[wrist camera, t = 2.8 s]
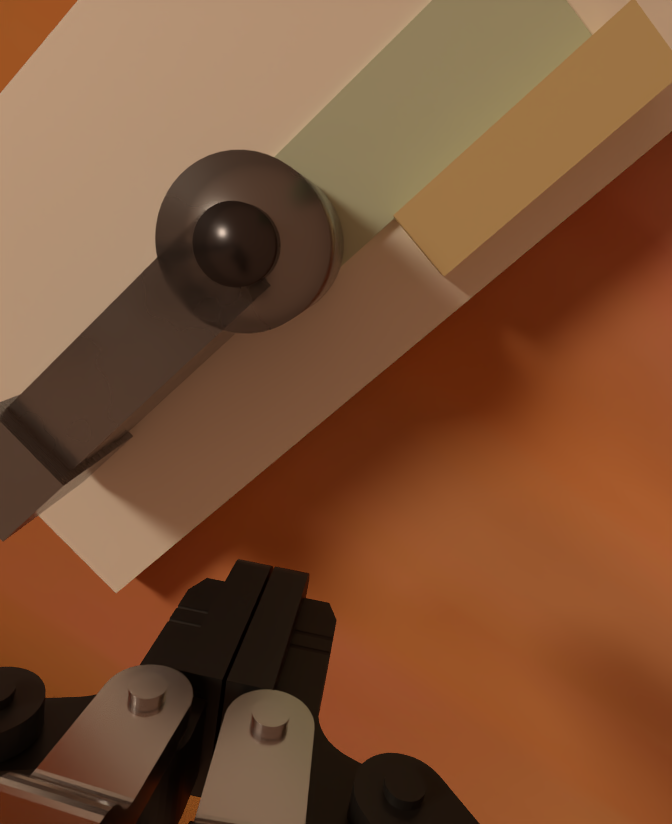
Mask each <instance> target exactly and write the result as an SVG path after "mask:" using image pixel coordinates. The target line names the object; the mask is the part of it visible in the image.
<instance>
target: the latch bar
mask: <svg viewBox="0 0 672 824" xmlns="http://www.w3.org/2000/svg"><path fill="white" fill-rule="evenodd" d="M155 245H156V254H157V258H156V259H155V260H154V261H153V262H152V263H151V264H150V265H149V266H148V267H147V268H146V269H145V270H144V271H143V272H142V273H141V274H140V275H139V276H138V277H137V278H136V279H135V280H134V281H133V282H132V283H131V284H130V285H129V286H128V287H127V288H126V289H125V290H124V291H123V292H122V293H121V294H120V295H119V296H118V297H117V298H116V299H115V300H114V301H113V302H112V303H111V304H110V305H109V306H108V307H107V308H106V309H105V310H104V311H103V312H102V313H101V314H100V315H99V316H98V317H97V318H96V319H95V320H94V321H93V322H92V323H91V324H90V325H89V326H88V327H87V328H86V329H85V330H84V331H83V332H82V333H81V334H80V335H79V336H78V337H77V338H76V339H75V340H74V341H73V342H72V343H71V344H70V345H69V346H68V347H67V348H66V349H65V350H64V351H63V352H62V353H61V354H60V355H59V356H58V357H57V358H56V359H55V360H54V361H53V362H52V363H51V364H50V365H49V366H48V367H47V368H46V369H45V370H44V371H43V372H42V373H41V374H40V375H39V376H38V377H37V378H36V379H35V380H34V381H33V382H32V383H31V384H30V385H29V386H28V387H27V388H26V389H25V390H24V391H23V392H22V393H21V394H20V395H17V396H14V397H12V398H9V399H7V400H4V401H2V402H0V539H1V540H2V541H5V540H6V539H7V538H9V537H10V536H11V535H13V534H14V533H15V532H17V531H18V530H19V529H21V528H22V527H23V526H25V525H26V524H27V523H29V522H30V521H31V520H33V519H34V518H35V517H37V516H38V515H39V514H41V513H42V512H44V511H45V510H46V509H48V508H49V507H50V506H52V505H53V504H54V503H56V502H57V501H58V500H60V499H61V498H62V497H64V496H65V495H66V494H68V493H69V492H70V491H72V490H73V489H74V488H76V487H77V486H79V485H80V484H81V483H83V482H84V481H85V480H86V479H87V478H88V477H89V476H90V475H91V474H92V473H94V472H95V471H96V470H97V469H98V468H99V467H100V466H101V465H102V464H103V463H105V462H106V461H107V460H108V459H109V458H110V457H111V456H112V455H113V454H114V453H115V452H117V451H118V450H119V449H120V448H121V447H122V446H123V445H124V444H125V443H126V442H128V441H129V440H130V439H131V438H132V437H133V435H132V434H131V433H130V432H129V431H130V430H131V429H132V428H133V427H134V426H135V425H136V424H137V423H139V422H140V421H141V420H142V419H143V418H144V417H145V416H146V415H147V414H148V413H149V412H151V411H152V410H153V409H154V408H155V407H156V406H157V405H158V404H159V403H160V402H161V401H162V400H164V399H165V398H166V397H167V396H168V395H169V394H170V393H171V392H172V391H173V390H174V389H176V388H177V387H178V386H179V385H180V384H181V383H182V382H183V381H184V380H185V379H186V378H188V377H189V376H190V375H191V374H192V373H193V372H194V371H195V370H196V369H197V368H198V367H200V366H201V365H202V364H203V363H204V362H205V361H206V360H207V359H208V358H209V357H210V356H211V355H213V354H214V353H215V352H216V351H217V350H218V349H219V348H220V347H221V346H222V345H223V344H225V343H226V342H227V341H228V340H229V339H230V338H231V337H232V336H233V335H234V334H235V333H258V332H264V331H267V330H271V329H274V328H276V327H279V326H281V325H283V324H285V323H286V322H288V321H290V320H292V319H293V318H295V317H296V316H298V315H299V314H300V313H302V312H303V311H305V310H306V309H308V308H309V307H311V306H312V305H314V304H315V303H316V302H318V301H319V300H320V299H321V298H322V297H323V296H324V295H325V294H326V293H327V292H328V290H329V289H330V288H331V286H332V285H333V283H334V281H335V279H336V277H337V275H338V273H339V270H340V267H341V263H342V259H343V251H344V238H343V230H342V226H341V222H340V219H339V217H338V214H337V212H336V210H335V208H334V206H333V204H332V203H331V201H330V200H329V198H328V197H327V196H326V194H325V193H324V192H323V191H322V190H321V189H320V188H319V187H318V186H316V185H315V184H314V183H313V182H311V181H310V180H308V179H307V178H306V177H304V176H303V175H301V174H300V173H299V172H297V171H296V170H294V169H293V168H292V167H290V166H289V165H287V164H286V163H284V162H282V161H281V160H279V159H277V158H275V157H272V156H270V155H268V154H264V153H261V152H257V151H251V150H227V151H221V152H217V153H214V154H211V155H208V156H206V157H204V158H202V159H200V160H198V161H197V162H195V163H194V164H192V165H191V166H189V167H188V168H187V169H186V170H185V171H183V172H182V173H181V174H180V175H179V176H178V178H177V179H176V180H175V181H174V182H173V184H172V185H171V187H170V188H169V190H168V191H167V193H166V195H165V197H164V199H163V202H162V204H161V207H160V210H159V213H158V217H157V223H156V231H155Z"/></svg>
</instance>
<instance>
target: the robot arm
mask: <svg viewBox="0 0 672 824" xmlns="http://www.w3.org/2000/svg"><path fill="white" fill-rule="evenodd" d="M308 582H309V573H304V572H300V571H295V570H290V569H285V568H280V567H274V569H273V566H269V565H265V564H260V563H255V562H250V561H245V560H240V559H238V560H237V561H236V563H235V565H234V566H233V568H232V570H231V572H230V574H229V575H228V577H227V579H226V581H225V582H224V581H219V580H215V579H210V578H206V579H205V580H203V581H201V582H200V583H198V584H196V585H195V586H193V587H192V588H190V589H188V591H187V592H186V594H185V596H184V597H183V599H182V600H181V602H180V603H179V605H178V608H176V610H175V611H174V613H173V614H172V616H171V617H170V620H169V622H167V624H166V625H165V627H164V628H163V630H162V631H161V633H160V634H159V636H158V638H157V639H156V641H155V642H154V644H153V645H152V647H151V648H150V650H149V652H148V653H147V655H146V656H145V658H144V659H143V661H142V662H141V664H140V666H135V667H131V668H128V669H126V670H123V671H121V672H119V673H118V674H116V675H115V676H113V677H112V678H111V679H110V680H109V681H108V682H107V683H106V684H105V685H104V686H103V688H102V689H101V690H100V691H99V693H98V694H97V695H91V696H84V697H63V698H45V685H44V683H43V681H42V680H41V679H40V677H39V676H37V675H36V674H35V673H33V672H31V671H29V670H26V669H22V668H17V667H0V824H178V822H179V821H180V819H181V817H182V814H183V812H184V809H185V807H186V804H187V802H188V799H189V797H190V795H193V796H197V797H201V800H200V803H199V807H198V810H197V814H196V817H195V820H194V822H193V821H190V822H189V823H188V824H479V823H478V821H477V820H476V819H475V818H474V817H473V815H472V814H471V813H470V812H469V811H468V809H467V808H466V807H465V806H464V805H463V803H462V802H461V801H460V800H459V799H458V797H457V796H456V795H455V794H454V793H453V791H452V790H451V789H450V788H449V787H448V785H447V784H446V783H445V782H444V781H443V779H442V778H441V777H440V776H439V775H438V774H437V773H436V772H435V771H434V770H433V769H432V768H431V767H429V766H428V765H427V764H425V763H423V762H422V761H420V760H418V759H416V758H413V757H411V756H407V755H404V754H398V753H384V754H379V755H376V756H373V757H371V758H369V759H368V760H366V761H365V762H364V763H363V764H361V763H359V762H357V761H355V760H353V759H352V758H350V757H348V756H346V755H345V754H343V753H341V752H340V751H339V750H338V749H336V748H335V747H334V746H333V745H332V744H331V743H330V742H329V741H328V739H327V738H326V737H325V735H324V733H323V731H322V729H321V727H320V724H319V718H318V716H319V711H320V706H321V701H322V696H323V690H324V685H325V680H326V674H327V669H328V664H329V658H330V653H331V647H332V642H333V636H334V631H335V625H336V618H335V616H334V613H333V611H332V608H331V606H330V604H329V603H327V602H322V601H317V600H312V599H307V598H306V594H307V588H308Z"/></svg>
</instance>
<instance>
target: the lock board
mask: <svg viewBox="0 0 672 824" xmlns="http://www.w3.org/2000/svg"><path fill="white" fill-rule="evenodd" d="M671 131H672V0H78V1H77V2H76V3H75V4H74V6H73V7H72V8H71V9H70V10H69V12H68V13H67V14H66V15H65V16H64V18H63V19H62V20H61V21H60V22H59V24H58V25H57V26H56V27H55V28H54V30H53V31H52V32H51V33H50V34H49V36H48V37H47V38H46V39H45V40H44V42H43V43H42V44H41V45H40V46H39V48H38V49H37V50H36V51H35V52H34V54H33V55H32V56H31V57H30V58H29V60H28V61H27V62H26V63H25V64H24V66H23V67H22V68H21V69H20V70H19V72H18V73H17V74H16V75H15V76H14V78H13V79H12V80H11V81H10V83H9V84H8V85H7V86H6V87H5V89H4V90H3V91H2V92H1V93H0V402H2V401H4V400H7V399H9V398H12V397H14V396H17V395H20V394H21V393H22V392H23V391H24V390H25V389H26V388H27V387H28V386H29V385H30V384H31V383H32V382H33V381H34V380H35V379H36V378H37V377H38V376H39V375H40V374H41V373H42V372H43V371H44V370H45V369H46V368H47V367H48V366H49V365H50V364H51V363H52V362H53V361H54V360H55V359H56V358H57V357H58V356H59V355H60V354H61V353H62V352H63V351H64V350H65V349H66V348H67V347H68V346H69V345H70V344H71V343H72V342H73V341H74V340H75V339H76V338H77V337H78V336H79V335H80V334H81V333H82V332H83V331H84V330H85V329H86V328H87V327H88V326H89V325H90V324H91V323H92V322H93V321H94V320H95V319H96V318H97V317H98V316H99V315H100V314H101V313H102V312H103V311H104V310H105V309H106V308H107V307H108V306H109V305H110V304H111V303H112V302H113V301H114V300H115V299H116V298H117V297H118V296H119V295H120V294H121V293H122V292H123V291H124V290H125V289H126V288H127V287H128V286H129V285H130V284H131V283H132V282H133V281H134V280H135V279H136V278H137V277H138V276H139V275H140V274H141V273H142V272H143V271H144V270H145V269H146V268H147V267H148V266H149V265H150V264H151V263H152V262H153V261H154V260H155V259H156V258H157V254H156V245H155V231H156V223H157V217H158V213H159V210H160V207H161V204H162V202H163V199H164V197H165V195H166V193H167V191H168V190H169V188H170V187H171V185H172V184H173V182H174V181H175V180H176V179H177V178H178V176H179V175H180V174H181V173H182V172H183V171H185V170H186V169H187V168H188V167H189V166H191V165H192V164H194V163H195V162H197V161H198V160H200V159H202V158H204V157H206V156H208V155H211V154H214V153H217V152H221V151H227V150H251V151H257V152H261V153H264V154H268V155H270V156H272V157H275V158H277V159H279V160H281V161H282V162H284V163H286V164H287V165H289V166H290V167H292V168H293V169H294V170H296V171H297V172H299V173H300V174H301V175H303V176H304V177H306V178H307V179H308V180H310V181H311V182H313V183H314V184H315V185H316V186H318V187H319V188H320V189H321V190H322V191H323V192H324V193H325V194H326V196H327V197H328V198H329V200H330V201H331V203H332V204H333V206H334V208H335V210H336V212H337V214H338V217H339V219H340V222H341V226H342V230H343V238H344V251H343V259H342V263H341V267H340V270H339V273H338V275H337V277H336V279H335V281H334V283H333V285H332V286H331V288H330V289H329V290H328V292H327V293H326V294H325V295H324V296H323V297H322V298H321V299H320V300H319V301H318V302H316V303H315V304H314V305H312V306H311V307H309V308H308V309H306V310H305V311H303V312H302V313H300V314H299V315H298V316H296V317H295V318H293V319H292V320H290V321H288V322H286V323H285V324H283V325H281V326H279V327H276V328H274V329H271V330H267V331H264V332H258V333H235V334H234V335H233V336H232V337H231V338H230V339H229V340H228V341H227V342H226V343H225V344H223V345H222V346H221V347H220V348H219V349H218V350H217V351H216V352H215V353H214V354H213V355H211V356H210V357H209V358H208V359H207V360H206V361H205V362H204V363H203V364H202V365H201V366H200V367H198V368H197V369H196V370H195V371H194V372H193V373H192V374H191V375H190V376H189V377H188V378H186V379H185V380H184V381H183V382H182V383H181V384H180V385H179V386H178V387H177V388H176V389H174V390H173V391H172V392H171V393H170V394H169V395H168V396H167V397H166V398H165V399H164V400H162V401H161V402H160V403H159V404H158V405H157V406H156V407H155V408H154V409H153V410H152V411H151V412H149V413H148V414H147V415H146V416H145V417H144V418H143V419H142V420H141V421H140V422H139V423H137V424H136V425H135V426H134V427H133V428H132V429H131V430H130V431H129V432H130V433H131V434H132V435H133V437H132V438H131V439H130V440H129V441H128V442H126V443H125V444H124V445H123V446H122V447H121V448H120V449H119V450H118V451H117V452H115V453H114V454H113V455H112V456H111V457H110V458H109V459H108V460H107V461H106V462H105V463H103V464H102V465H101V466H100V467H99V468H98V469H97V470H96V471H95V472H94V473H92V474H91V475H90V476H89V477H88V478H87V479H86V480H85V481H84V482H83V483H81V484H80V485H79V486H77V487H76V488H74V489H73V490H72V491H70V492H69V493H68V494H66V495H65V496H64V497H62V498H61V499H60V500H58V501H57V502H56V503H54V504H53V505H52V506H50V507H49V508H48V509H46V510H45V511H44V512H42V513H41V514H39V516H40V517H41V518H42V519H43V520H44V521H45V522H46V523H47V524H48V525H49V526H50V528H51V529H52V530H53V531H54V532H55V533H56V534H57V535H58V536H59V537H60V538H61V539H62V540H63V541H64V542H65V543H66V544H67V545H68V546H69V547H70V548H71V549H72V550H73V551H74V552H75V553H76V554H77V555H78V556H79V557H80V558H81V559H82V560H83V561H84V562H85V563H86V564H87V565H88V566H89V567H90V568H91V569H92V570H93V571H94V572H95V573H96V574H97V575H98V576H99V577H100V578H101V579H102V580H103V581H104V582H105V583H106V584H107V585H108V586H109V587H110V588H111V589H112V590H113V591H114V592H115V593H117V592H118V591H119V590H121V589H122V588H123V587H124V586H125V585H127V584H128V583H129V582H130V581H131V580H133V579H134V578H135V577H136V576H137V575H139V574H140V573H141V572H142V571H143V570H145V569H146V568H147V567H148V566H149V565H151V564H152V563H153V562H154V561H155V560H157V559H158V558H159V557H160V556H161V555H163V554H164V553H165V552H166V551H167V550H169V549H170V548H171V547H172V546H173V545H175V544H176V543H177V542H178V541H179V540H181V539H182V538H183V537H184V536H185V535H187V534H188V533H189V532H190V531H192V530H193V529H194V528H195V527H196V526H198V525H199V524H200V523H201V522H202V521H204V520H205V519H206V518H207V517H208V516H210V515H211V514H212V513H213V512H214V511H216V510H217V509H218V508H219V507H220V506H222V505H223V504H224V503H225V502H226V501H228V500H229V499H230V498H231V497H232V496H234V495H235V494H236V493H237V492H238V491H240V490H241V489H242V488H243V487H244V486H246V485H247V484H248V483H249V482H250V481H252V480H253V479H254V478H255V477H256V476H258V475H259V474H260V473H261V472H262V471H264V470H265V469H266V468H267V467H268V466H270V465H271V464H272V463H273V462H274V461H276V460H277V459H278V458H279V457H280V456H282V455H283V454H284V453H285V452H287V451H288V450H289V449H290V448H291V447H293V446H294V445H295V444H296V443H297V442H299V441H300V440H301V439H302V438H303V437H305V436H306V435H307V434H308V433H309V432H311V431H312V430H313V429H314V428H315V427H317V426H318V425H319V424H320V423H321V422H323V421H324V420H325V419H326V418H327V417H329V416H330V415H331V414H332V413H333V412H335V411H336V410H337V409H338V408H339V407H341V406H342V405H343V404H344V403H345V402H347V401H348V400H349V399H350V398H351V397H353V396H354V395H355V394H356V393H357V392H359V391H360V390H361V389H362V388H363V387H365V386H366V385H367V384H368V383H369V382H371V381H372V380H373V379H374V378H375V377H377V376H378V375H379V374H380V373H381V372H383V371H384V370H385V369H386V368H387V367H389V366H390V365H391V364H392V363H394V362H395V361H396V360H397V359H398V358H400V357H401V356H402V355H403V354H404V353H406V352H407V351H408V350H409V349H410V348H412V347H413V346H414V345H415V344H416V343H418V342H419V341H420V340H421V339H422V338H424V337H425V336H426V335H427V334H428V333H430V332H431V331H432V330H433V329H434V328H436V327H437V326H438V325H439V324H440V323H442V322H443V321H444V320H445V319H446V318H448V317H449V316H450V315H451V314H452V313H454V312H455V311H456V310H457V309H458V308H460V307H461V306H462V305H463V304H464V303H466V302H467V301H468V300H469V299H470V298H472V297H473V296H474V295H475V294H476V293H478V292H479V291H480V290H481V289H482V288H484V287H485V286H486V285H487V284H488V283H490V282H491V281H492V280H493V279H495V278H496V277H497V276H498V275H499V274H501V273H502V272H503V271H504V270H505V269H507V268H508V267H509V266H510V265H511V264H513V263H514V262H515V261H516V260H517V259H519V258H520V257H521V256H522V255H523V254H525V253H526V252H527V251H528V250H529V249H531V248H532V247H533V246H534V245H535V244H537V243H538V242H539V241H540V240H541V239H543V238H544V237H545V236H546V235H547V234H549V233H550V232H551V231H552V230H553V229H555V228H556V227H557V226H558V225H559V224H561V223H562V222H563V221H564V220H565V219H567V218H568V217H569V216H570V215H571V214H573V213H574V212H575V211H576V210H577V209H579V208H580V207H581V206H582V205H583V204H585V203H586V202H587V201H588V200H590V199H591V198H592V197H593V196H594V195H596V194H597V193H598V192H599V191H600V190H602V189H603V188H604V187H605V186H606V185H608V184H609V183H610V182H611V181H612V180H614V179H615V178H616V177H617V176H618V175H620V174H621V173H622V172H623V171H624V170H626V169H627V168H628V167H629V166H630V165H632V164H633V163H634V162H635V161H636V160H638V159H639V158H640V157H641V156H642V155H644V154H645V153H646V152H647V151H648V150H650V149H651V148H652V147H653V146H654V145H656V144H657V143H658V142H659V141H660V140H662V139H663V138H664V137H665V136H666V135H668V134H669V133H670V132H671Z"/></svg>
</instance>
